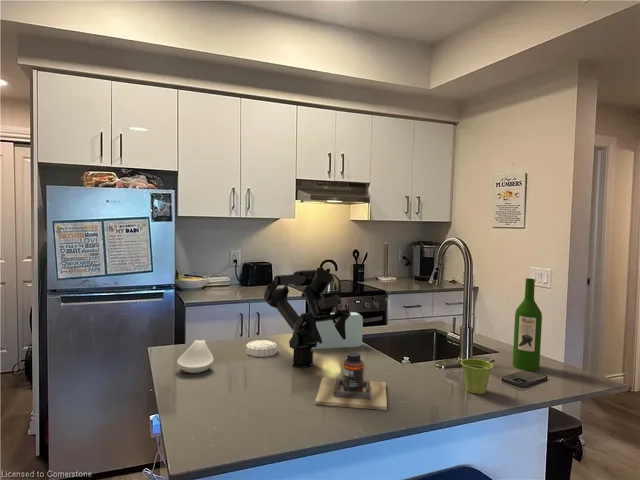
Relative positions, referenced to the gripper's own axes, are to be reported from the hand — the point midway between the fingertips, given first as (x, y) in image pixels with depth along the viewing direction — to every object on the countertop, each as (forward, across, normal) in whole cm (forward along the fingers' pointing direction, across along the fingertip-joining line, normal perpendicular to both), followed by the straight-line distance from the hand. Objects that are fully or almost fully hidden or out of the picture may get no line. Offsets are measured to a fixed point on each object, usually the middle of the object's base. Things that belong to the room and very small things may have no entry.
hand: (333, 341), depth 137 cm
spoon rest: (-16, -33, +36) cm, 51 cm away
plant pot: (+29, +35, -10) cm, 47 cm away
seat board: (+17, 0, +2) cm, 17 cm away
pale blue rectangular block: (-13, +22, +32) cm, 41 cm away
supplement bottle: (+17, 0, +1) cm, 17 cm away
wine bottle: (+25, +71, -6) cm, 76 cm away
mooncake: (-18, -7, +37) cm, 42 cm away
